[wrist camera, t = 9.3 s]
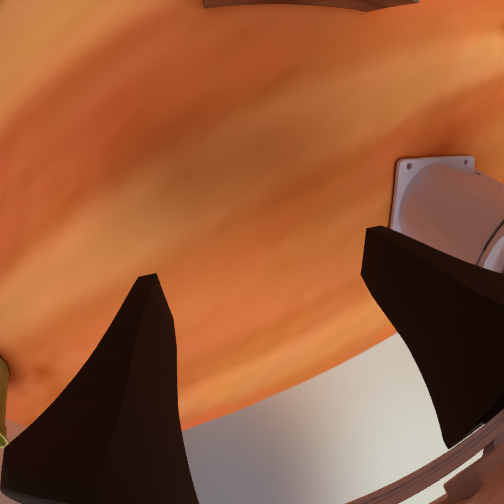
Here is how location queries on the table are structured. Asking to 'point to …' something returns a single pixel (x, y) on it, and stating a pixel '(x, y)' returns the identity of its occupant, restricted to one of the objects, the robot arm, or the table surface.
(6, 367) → the plant pot
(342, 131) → the table surface
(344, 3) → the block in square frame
